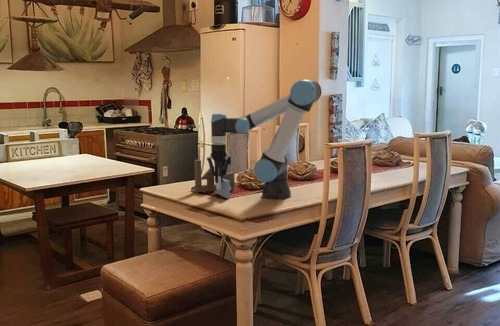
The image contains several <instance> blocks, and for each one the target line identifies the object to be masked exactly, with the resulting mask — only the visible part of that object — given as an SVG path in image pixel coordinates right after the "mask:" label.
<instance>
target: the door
mask: <svg viewBox="0 0 500 326" xmlns="http://www.w3.org/2000/svg"><path fill="white" fill-rule="evenodd" d="M230 190H231V187H230V181H228V180H225V179H222V182H221V189H217V183H216V182H215V195H216V194H219V195H221V196H220V197H222V196H223V197H222V198H226V199H231V191H230ZM219 195H218V196H219Z"/></svg>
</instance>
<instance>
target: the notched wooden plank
mask: <svg viewBox="0 0 500 326" xmlns="http://www.w3.org/2000/svg"><path fill="white" fill-rule="evenodd" d="M218 176H219V173H218ZM222 179H225V180H228V181H230V187H231V190H230V192H232V190H233V191H235V189H236V188H235V186H236V184H235V183H236V182H235V180H236V179H235V172H233V171H231V172H230V173H226V175H223V177H222Z"/></svg>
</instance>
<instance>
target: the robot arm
mask: <svg viewBox="0 0 500 326" xmlns="http://www.w3.org/2000/svg"><path fill="white" fill-rule="evenodd" d="M321 96H322V87H321V85H320V84H319V82H317V81H316V80H314V79H301V80H297V81H295V82H294V83H293V84H292V86H291V87H290V91H289V94H288V95H285V96H283V97H281V98H279V99H277V100H275V101H273V102H271V103H268V104H267V105H265V106H263V107H261V108H259V109H257V110H255V111H252V112H251V113H249V114H247V115H245V116H241V117H227V115H226V113H213V114H211V122H210V124H211V127H210V129H211V131H210V133H211V137H210V139H211V149H210V151H211V153H210V155H209V156H208V157H206V161H207V163H208V166H209V169H210V171H211V175H213V176H214V183H215V184H216V183H217V189H221V182H222V177H223V175H226V172H227V167H228V163H229V160H230V159H231V160H232V158H231V156H229V155H228V154H227V145H226V143H227V133H229V134H247V133H248V132H250V131H252V130H253V129H254V128H256V127H259V126H261V125H262V124H265V123H266V122H268V121H271V120H274V119H275V118H277V117H279V116H281V115H283V114H284V115H283V117H282V120H281V122H280V124H278V125H279V126H278V128H277V130H276V132H275V135H274V136H273V139H272V141H271V143H269V144H270V145H269V147H268V149H266V150H263V153H262V154H261V156H260V159H259V160H257V161H256V162H255V163H254V166H253V173H254V175H255V177H256V178H257V179H258V180H259V181H260V182H263V183H264V184H263V188H262V190H261V193H262V194H261V196H262V197H263V198H266V199H277V200H279V199H287V198H290V197H291V196H292V192H291V188H290V184H289V182H288V168H289V165H288V163H289V162H288V160H289V159H288V154H287V152H288V149H289V147H290V145H291V143H292V141H293V138H294V136H295V135H296V133H297V130H298V128H299V126H300V124H301V122H302V121H303V118H304V116H305V114H307V113H310V111H311V109H312V107H313V105H314V103H316V102H317V101H319V99H320V98H321ZM224 159H225V163H224V167H223V160H224ZM218 164H219V176H218ZM213 166H214V167H213Z"/></svg>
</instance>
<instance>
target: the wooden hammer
mask: <svg viewBox="0 0 500 326" xmlns="http://www.w3.org/2000/svg"><path fill="white" fill-rule="evenodd" d="M193 163H194V187H193V189H194V193H196V194H199V193H198V192H203V191H214V192H216V184H215V176H213V175H211V171H210V168H208V169H207V171H206V172H205V173H204V174H203V175H202V160H201V159H195V160H194V162H193ZM213 167H214V168H215V165H213ZM203 180H206V184H203V183H202V181H203ZM203 193H204V192H203Z"/></svg>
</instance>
